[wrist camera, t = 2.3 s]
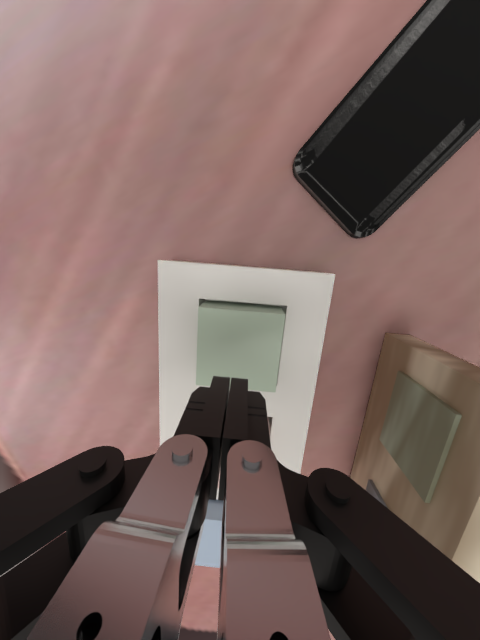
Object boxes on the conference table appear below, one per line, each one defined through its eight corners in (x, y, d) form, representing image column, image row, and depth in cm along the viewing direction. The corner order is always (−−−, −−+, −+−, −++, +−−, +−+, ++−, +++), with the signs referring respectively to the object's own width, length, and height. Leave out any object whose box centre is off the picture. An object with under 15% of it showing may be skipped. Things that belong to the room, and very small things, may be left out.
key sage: (280, 306, 17) (285, 314, 15) (271, 374, 19) (275, 392, 16) (206, 300, 18) (198, 307, 15) (203, 367, 19) (195, 385, 16)
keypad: (322, 271, 18) (335, 274, 16) (278, 539, 26) (282, 574, 23) (172, 260, 19) (157, 259, 16) (171, 527, 26) (161, 560, 23)
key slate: (257, 493, 22) (258, 524, 19) (252, 536, 23) (252, 571, 21) (198, 487, 22) (191, 517, 20) (196, 530, 24) (190, 564, 21)
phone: (287, 164, 16) (483, -67, 13) (285, 170, 17) (465, -42, 14) (362, 245, 17) (561, 51, 14) (356, 245, 18) (539, 66, 15)
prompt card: (409, 334, 19) (568, 409, 10) (360, 516, 24) (432, 684, 15) (382, 332, 19) (511, 404, 10) (338, 513, 24) (395, 679, 15)
